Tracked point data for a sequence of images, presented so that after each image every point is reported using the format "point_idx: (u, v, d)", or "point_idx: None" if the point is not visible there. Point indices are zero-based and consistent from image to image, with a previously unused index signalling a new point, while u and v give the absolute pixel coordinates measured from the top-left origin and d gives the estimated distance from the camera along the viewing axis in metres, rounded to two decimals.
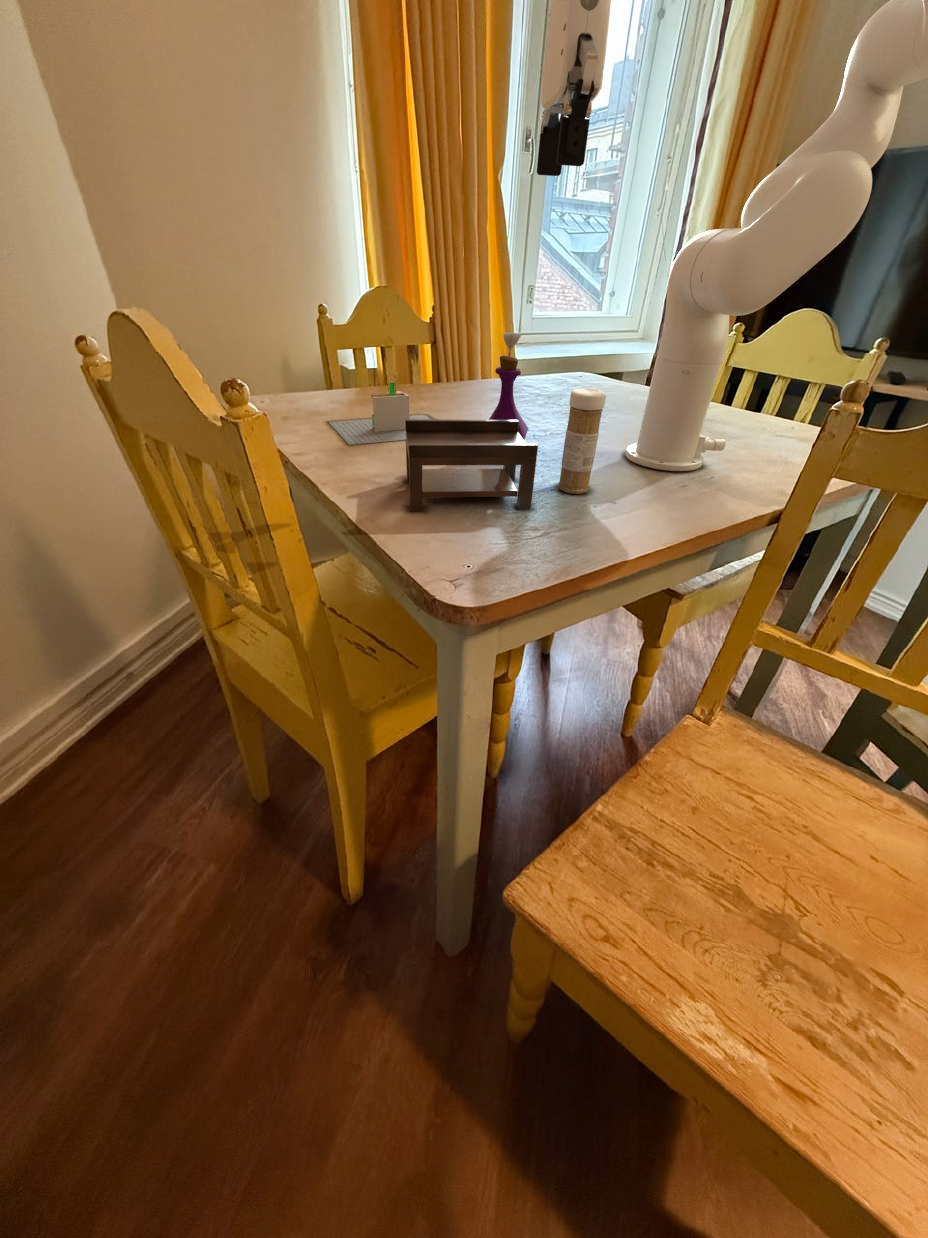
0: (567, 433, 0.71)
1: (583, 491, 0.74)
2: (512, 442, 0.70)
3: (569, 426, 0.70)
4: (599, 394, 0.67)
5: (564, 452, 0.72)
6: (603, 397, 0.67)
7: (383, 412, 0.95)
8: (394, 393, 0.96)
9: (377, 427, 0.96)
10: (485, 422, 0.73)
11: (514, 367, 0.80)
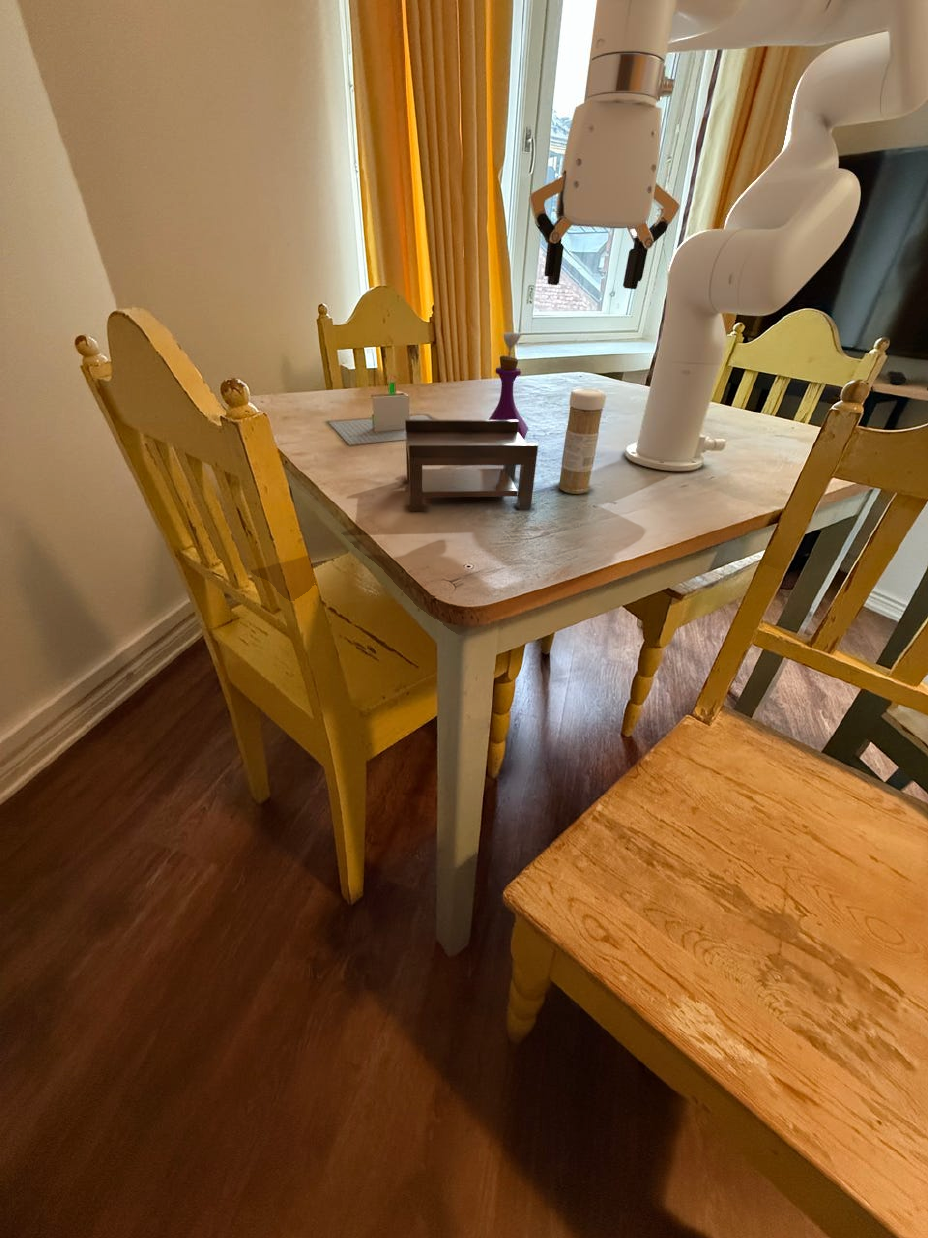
0: (567, 433, 0.71)
1: (583, 491, 0.74)
2: (512, 442, 0.70)
3: (569, 426, 0.70)
4: (599, 394, 0.67)
5: (564, 452, 0.72)
6: (603, 397, 0.67)
7: (383, 412, 0.95)
8: (394, 393, 0.96)
9: (377, 427, 0.96)
10: (485, 422, 0.73)
11: (514, 367, 0.80)
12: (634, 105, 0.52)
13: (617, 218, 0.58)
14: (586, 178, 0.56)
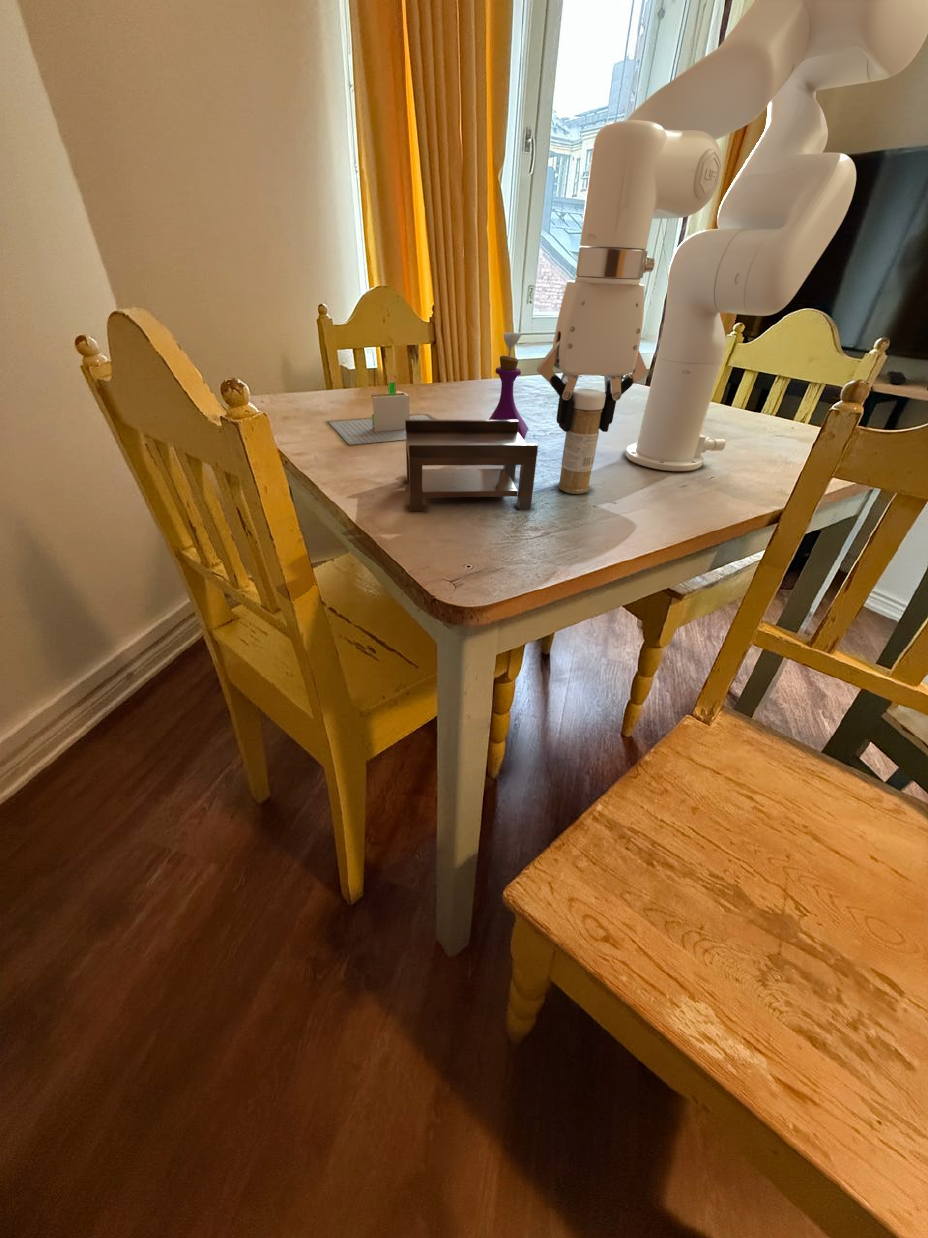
0: (567, 433, 0.71)
1: (583, 491, 0.74)
2: (512, 442, 0.70)
3: None
4: (599, 394, 0.67)
5: (564, 452, 0.72)
6: (603, 397, 0.67)
7: (383, 412, 0.95)
8: (394, 393, 0.96)
9: (377, 427, 0.96)
10: (485, 422, 0.73)
11: (514, 367, 0.80)
12: (620, 285, 0.59)
13: (607, 370, 0.65)
14: (579, 341, 0.62)
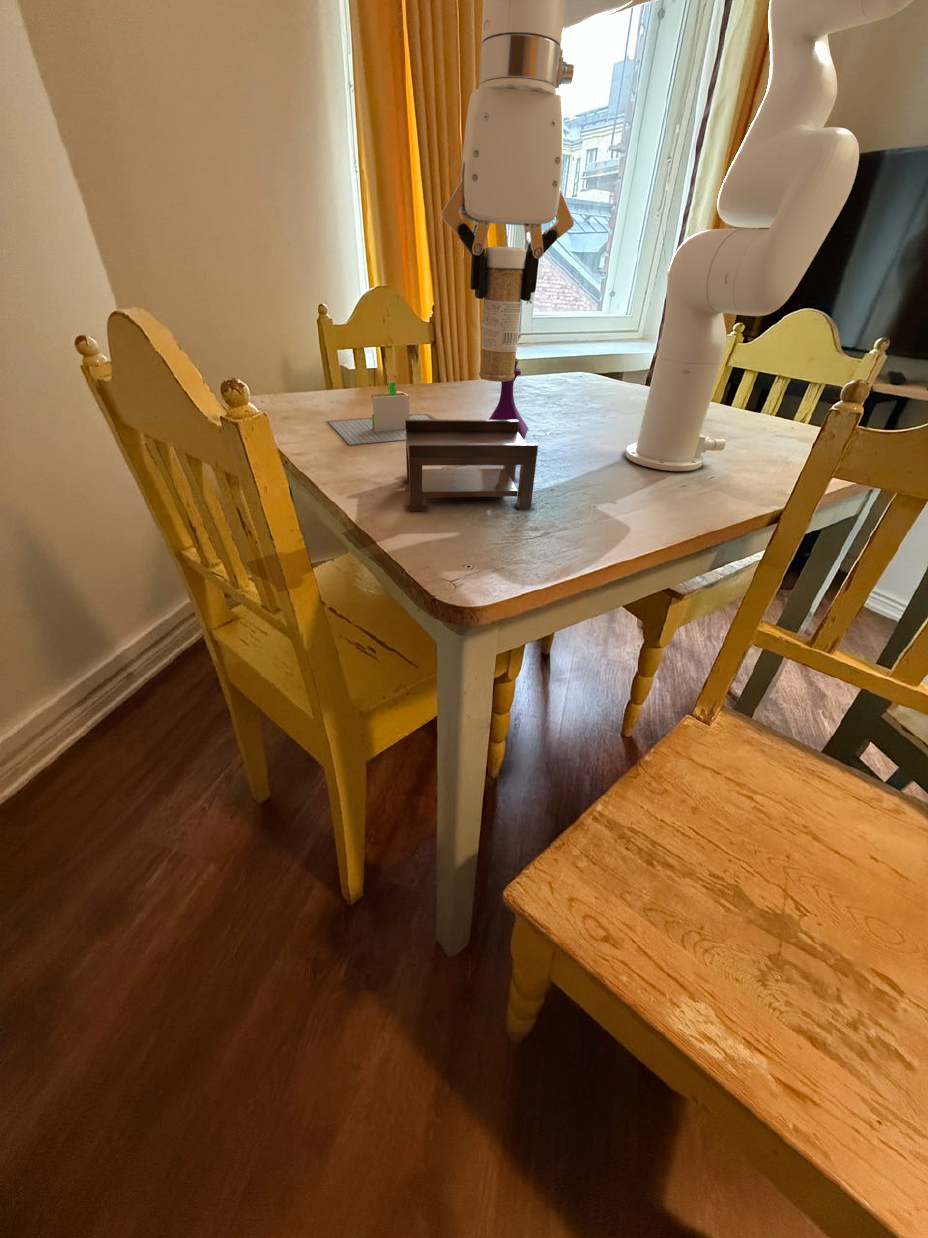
0: (484, 303, 0.60)
1: (506, 378, 0.63)
2: (512, 442, 0.70)
3: (485, 293, 0.59)
4: (517, 248, 0.56)
5: (482, 329, 0.61)
6: (522, 252, 0.56)
7: (383, 412, 0.95)
8: (394, 393, 0.96)
9: (377, 427, 0.96)
10: (485, 422, 0.73)
11: (514, 367, 0.80)
12: (530, 92, 0.49)
13: (522, 214, 0.54)
14: (485, 171, 0.52)
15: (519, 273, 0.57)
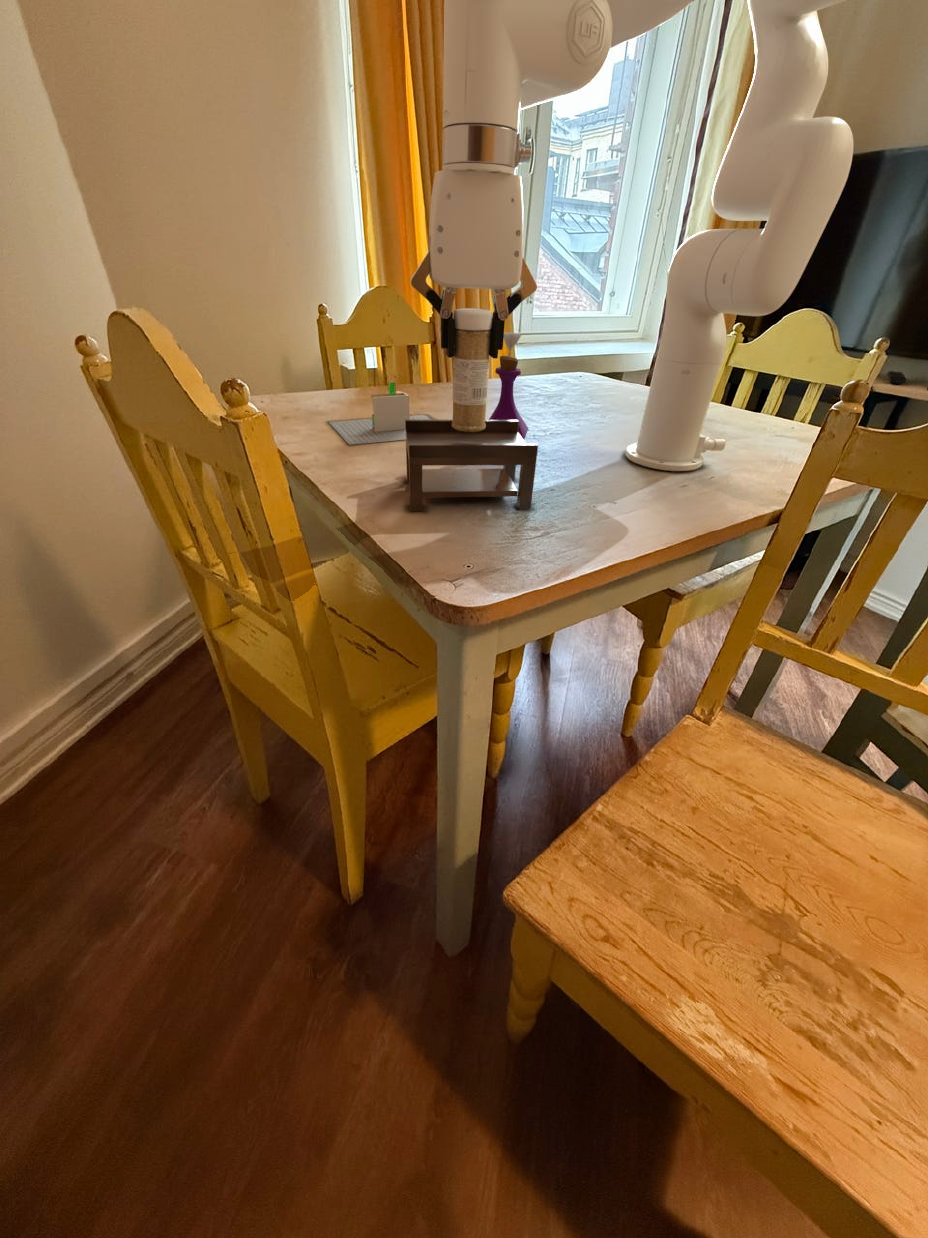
0: (454, 360, 0.63)
1: (477, 429, 0.66)
2: (512, 442, 0.70)
3: (455, 352, 0.62)
4: (482, 311, 0.59)
5: (453, 383, 0.64)
6: (487, 315, 0.59)
7: (383, 412, 0.95)
8: (394, 393, 0.96)
9: (377, 427, 0.96)
10: (485, 422, 0.73)
11: (514, 367, 0.80)
12: (490, 173, 0.51)
13: (487, 282, 0.57)
14: (449, 244, 0.54)
15: (486, 334, 0.60)
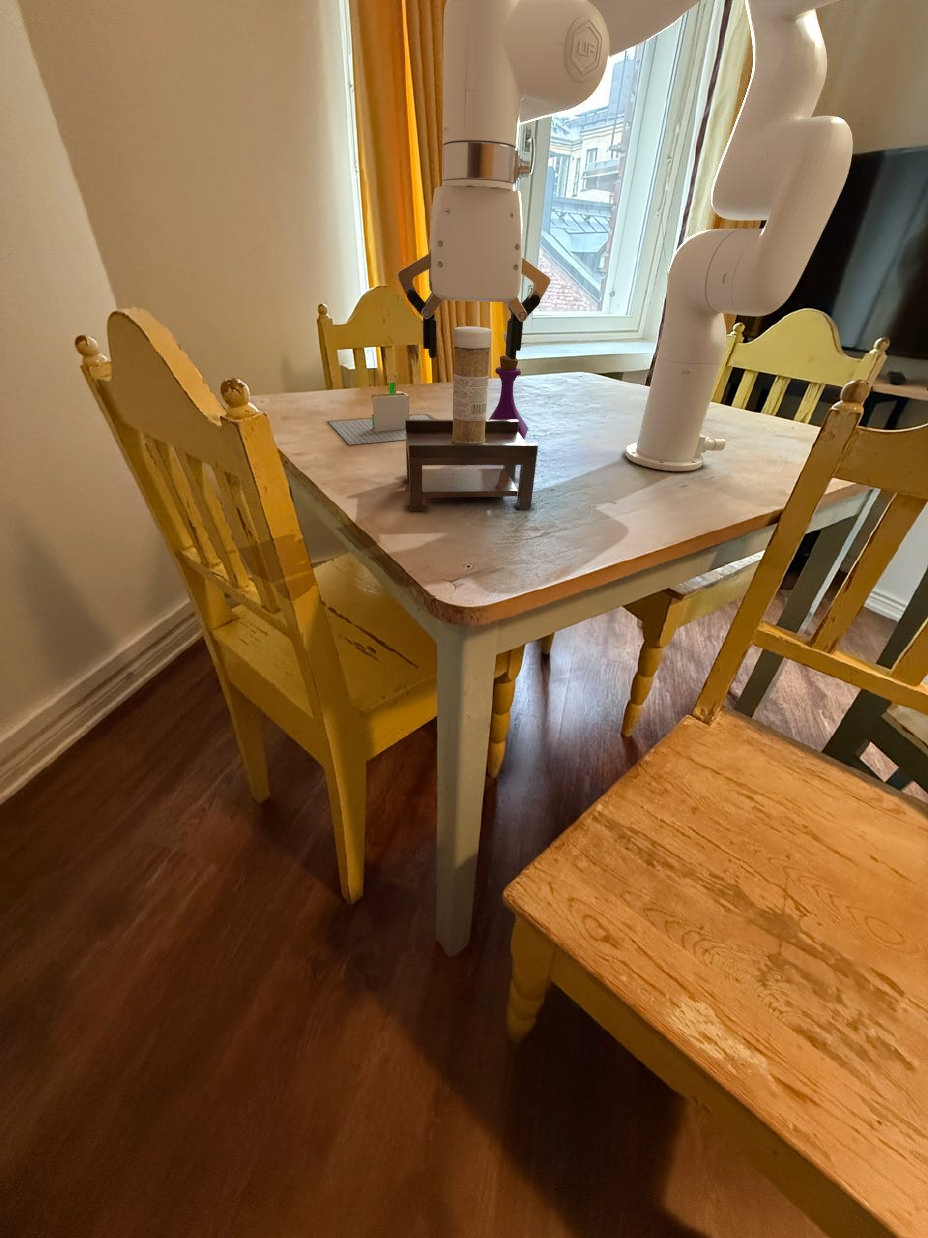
0: (453, 377, 0.64)
1: None
2: (512, 442, 0.70)
3: (455, 369, 0.63)
4: (482, 330, 0.60)
5: (453, 399, 0.66)
6: (487, 334, 0.60)
7: (383, 412, 0.95)
8: (394, 393, 0.96)
9: (377, 427, 0.96)
10: (485, 422, 0.73)
11: (514, 367, 0.80)
12: (489, 189, 0.52)
13: (486, 295, 0.58)
14: (449, 258, 0.55)
15: (485, 352, 0.61)
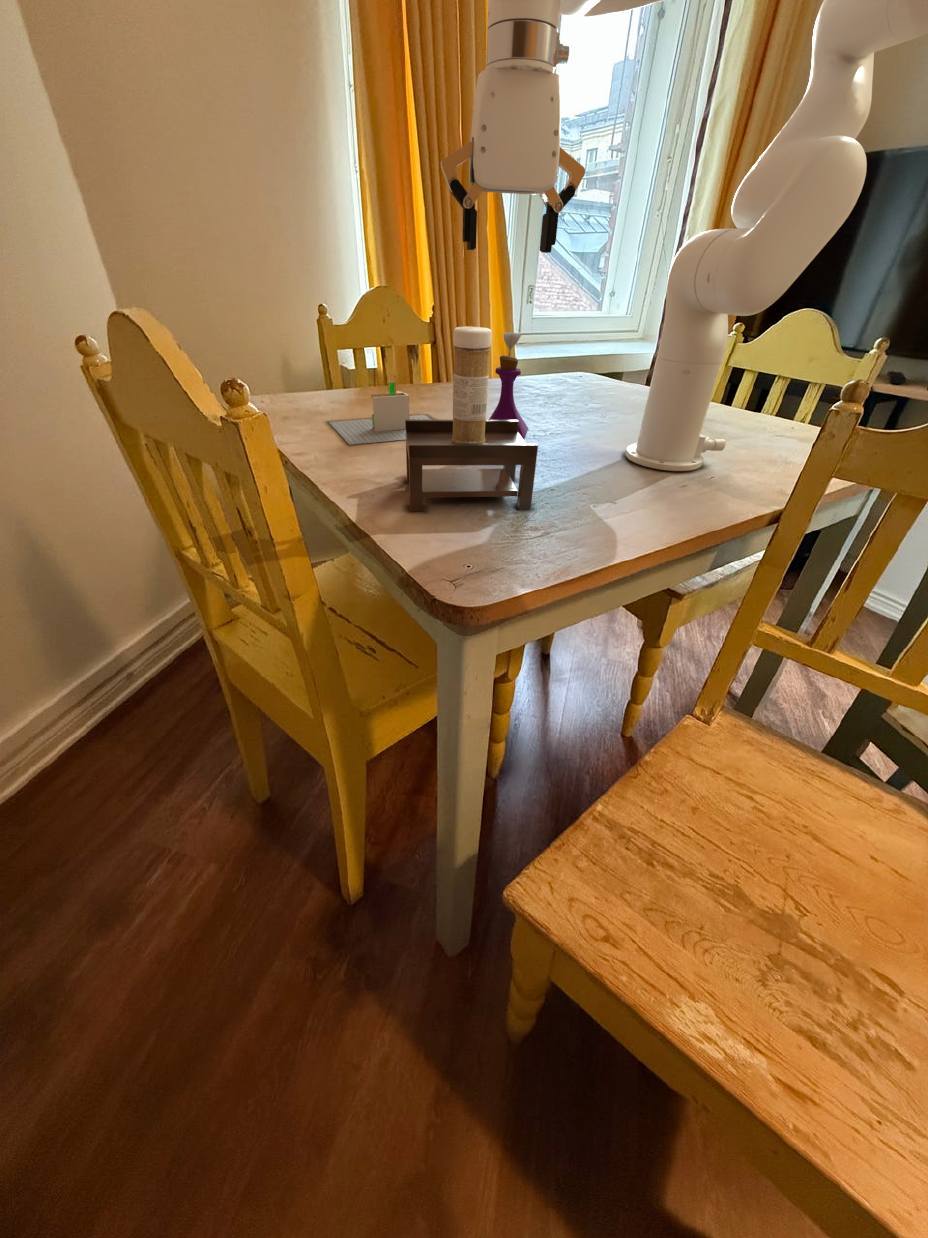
0: (453, 377, 0.64)
1: None
2: (512, 442, 0.70)
3: (454, 369, 0.63)
4: (482, 330, 0.60)
5: (453, 399, 0.66)
6: (487, 334, 0.60)
7: (383, 412, 0.95)
8: (394, 393, 0.96)
9: (377, 427, 0.96)
10: (485, 422, 0.73)
11: (514, 367, 0.80)
12: (531, 71, 0.55)
13: (526, 183, 0.61)
14: (492, 143, 0.58)
15: (485, 352, 0.61)
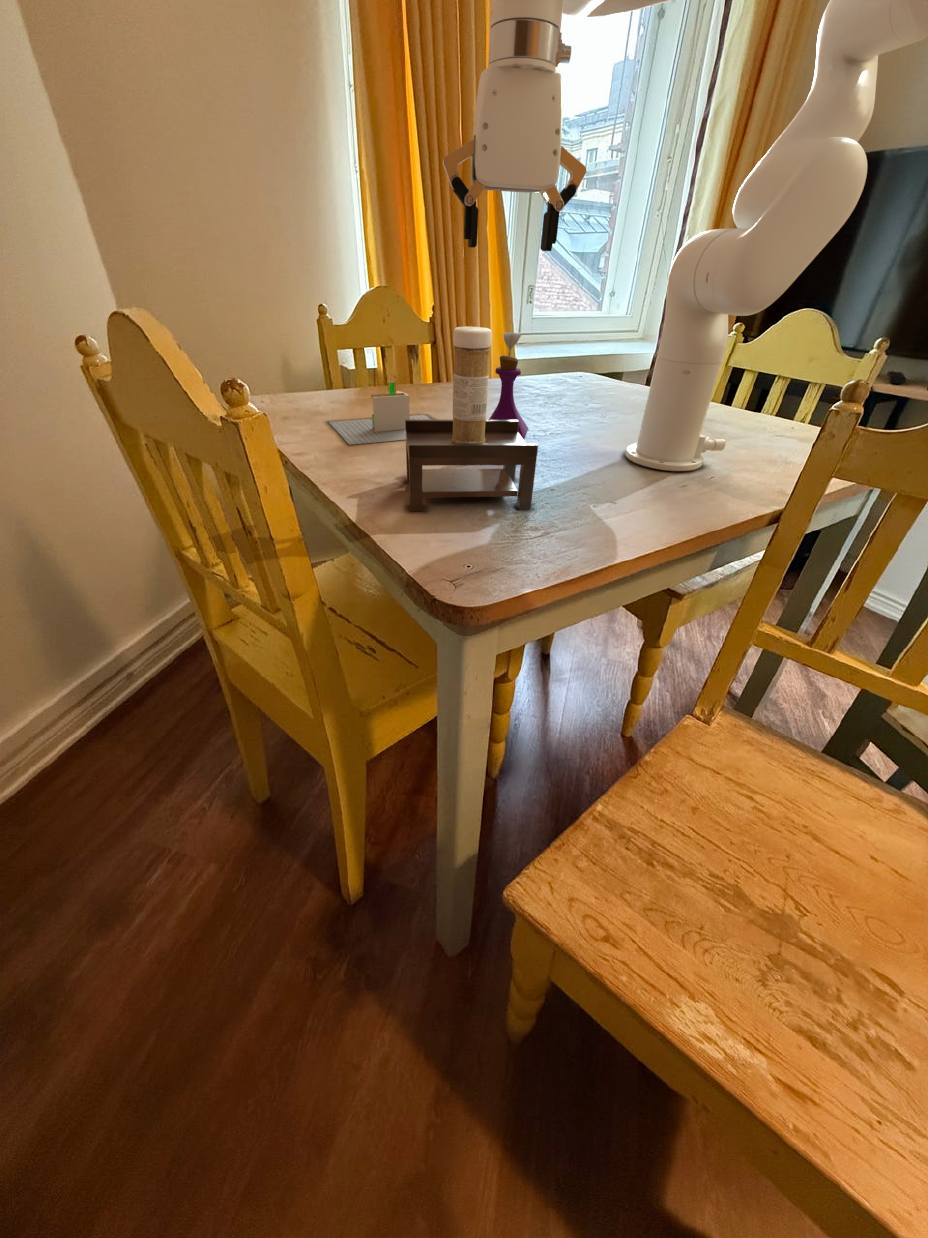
0: (453, 377, 0.64)
1: None
2: (512, 442, 0.70)
3: (454, 369, 0.63)
4: (482, 330, 0.60)
5: (453, 399, 0.66)
6: (487, 334, 0.60)
7: (383, 412, 0.95)
8: (394, 393, 0.96)
9: (377, 427, 0.96)
10: (485, 422, 0.73)
11: (514, 367, 0.80)
12: (533, 70, 0.55)
13: (527, 181, 0.61)
14: (494, 141, 0.59)
15: (485, 352, 0.61)
